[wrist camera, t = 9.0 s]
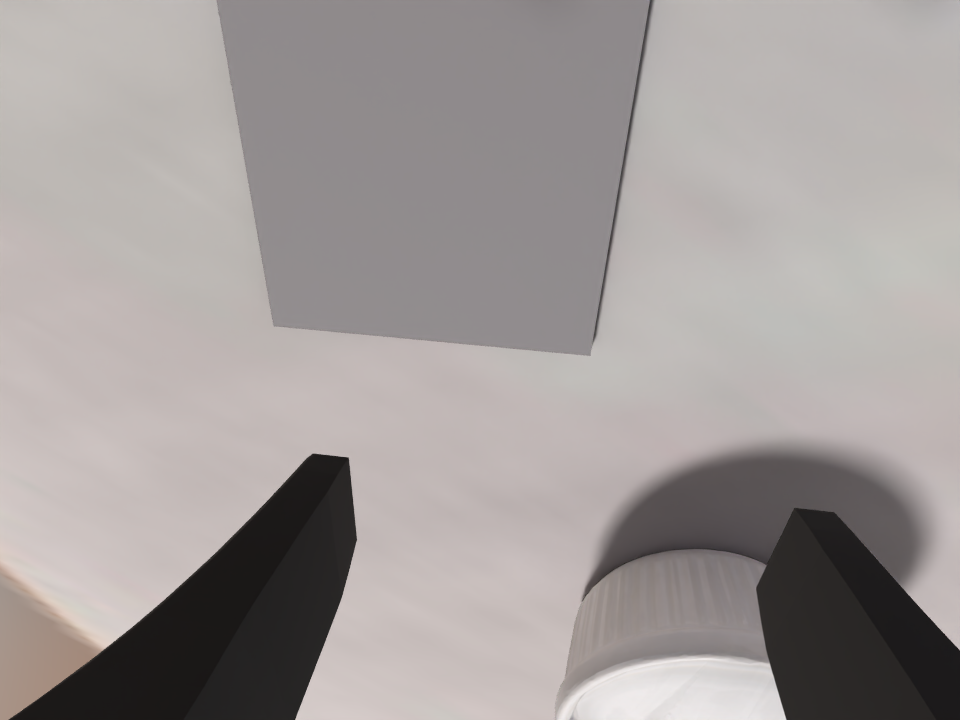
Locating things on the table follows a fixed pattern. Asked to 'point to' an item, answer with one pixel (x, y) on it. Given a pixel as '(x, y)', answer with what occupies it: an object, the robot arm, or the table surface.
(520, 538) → the table surface
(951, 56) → the table surface
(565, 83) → the mat
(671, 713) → the ramekin
